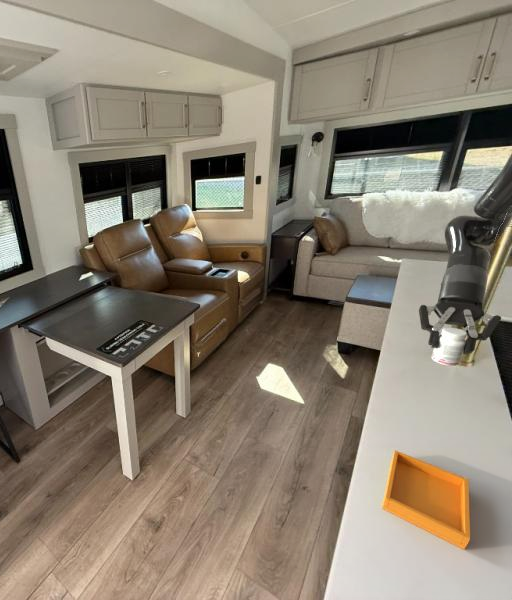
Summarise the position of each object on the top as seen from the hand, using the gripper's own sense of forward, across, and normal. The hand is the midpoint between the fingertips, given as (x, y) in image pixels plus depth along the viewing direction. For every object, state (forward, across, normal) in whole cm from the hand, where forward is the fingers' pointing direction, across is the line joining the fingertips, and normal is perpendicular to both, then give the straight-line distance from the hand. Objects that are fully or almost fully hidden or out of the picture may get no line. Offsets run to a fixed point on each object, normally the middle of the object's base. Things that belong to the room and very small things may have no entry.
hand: (449, 350), depth 75 cm
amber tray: (+35, -1, -17) cm, 39 cm away
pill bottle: (+2, 0, +4) cm, 5 cm away
